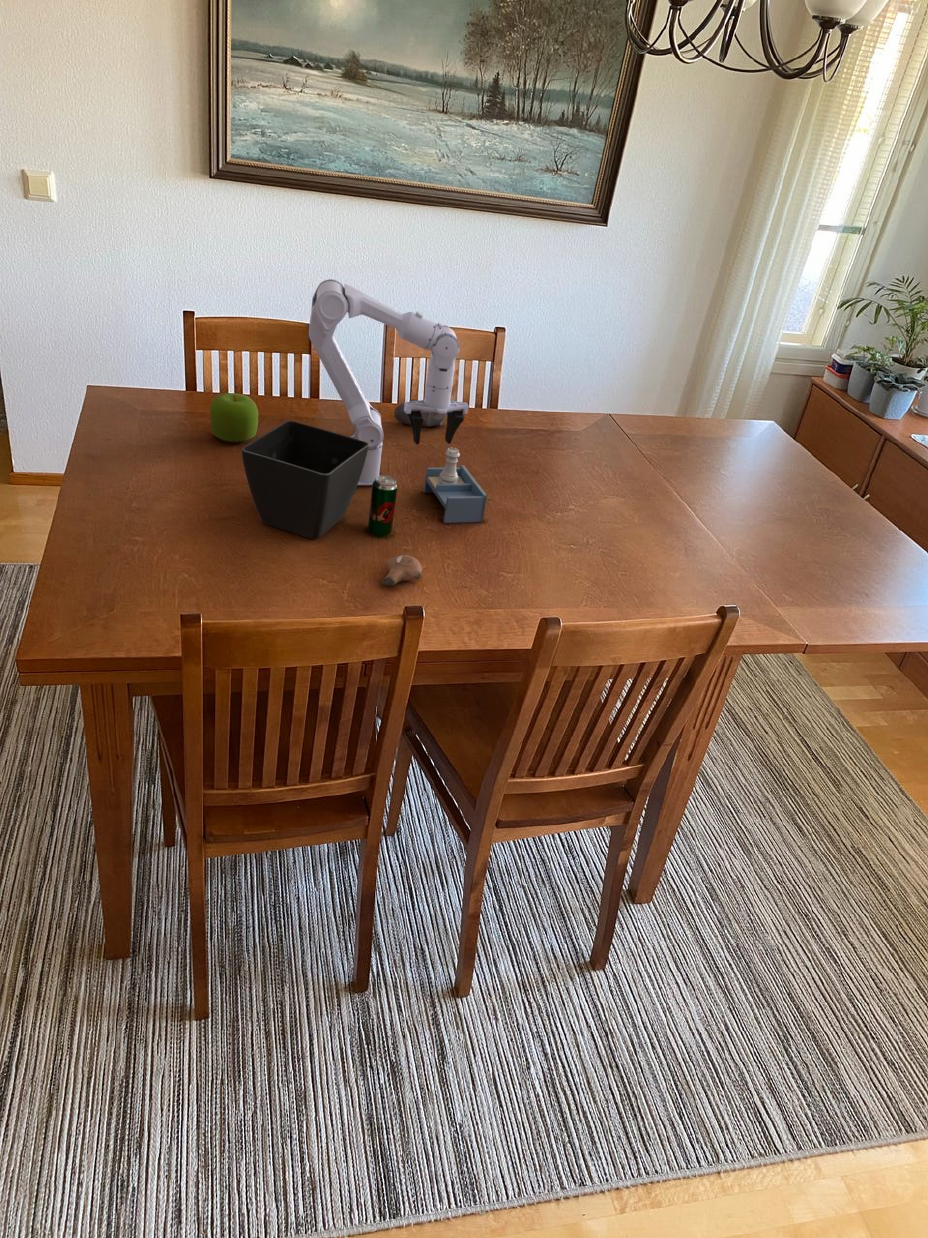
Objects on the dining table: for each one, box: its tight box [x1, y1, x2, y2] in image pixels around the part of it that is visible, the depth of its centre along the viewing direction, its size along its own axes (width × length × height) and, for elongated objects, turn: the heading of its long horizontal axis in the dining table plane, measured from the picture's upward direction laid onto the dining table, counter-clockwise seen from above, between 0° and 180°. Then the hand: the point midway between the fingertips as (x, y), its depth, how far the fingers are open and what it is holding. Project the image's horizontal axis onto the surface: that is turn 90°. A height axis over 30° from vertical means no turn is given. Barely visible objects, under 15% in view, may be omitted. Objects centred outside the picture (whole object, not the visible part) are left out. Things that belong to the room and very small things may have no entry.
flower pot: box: [241, 420, 369, 540], centre depth 180 cm, size 19×19×17 cm
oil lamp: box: [381, 554, 423, 587], centre depth 171 cm, size 9×4×8 cm
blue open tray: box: [423, 464, 488, 524], centre depth 199 cm, size 9×15×6 cm, turn 20°
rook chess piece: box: [439, 446, 461, 484], centre depth 199 cm, size 4×4×8 cm
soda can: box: [367, 475, 398, 538], centre depth 182 cm, size 5×5×12 cm
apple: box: [209, 392, 259, 444], centre depth 210 cm, size 11×11×11 cm
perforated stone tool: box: [393, 399, 447, 428], centre depth 236 cm, size 15×5×7 cm, turn 101°
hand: (432, 442), depth 203 cm, fingers open, 7 cm apart
